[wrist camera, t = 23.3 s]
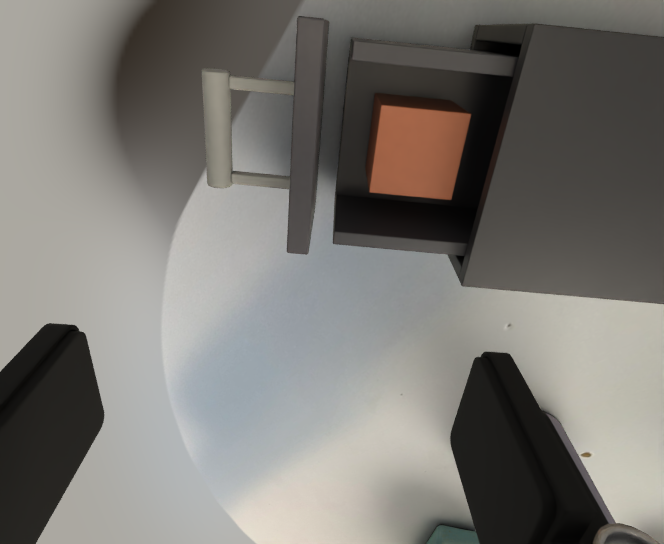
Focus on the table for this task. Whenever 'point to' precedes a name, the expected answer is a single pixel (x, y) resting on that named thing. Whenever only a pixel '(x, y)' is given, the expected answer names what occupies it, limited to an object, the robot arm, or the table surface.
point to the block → (415, 146)
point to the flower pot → (452, 536)
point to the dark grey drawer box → (574, 167)
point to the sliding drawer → (352, 187)
